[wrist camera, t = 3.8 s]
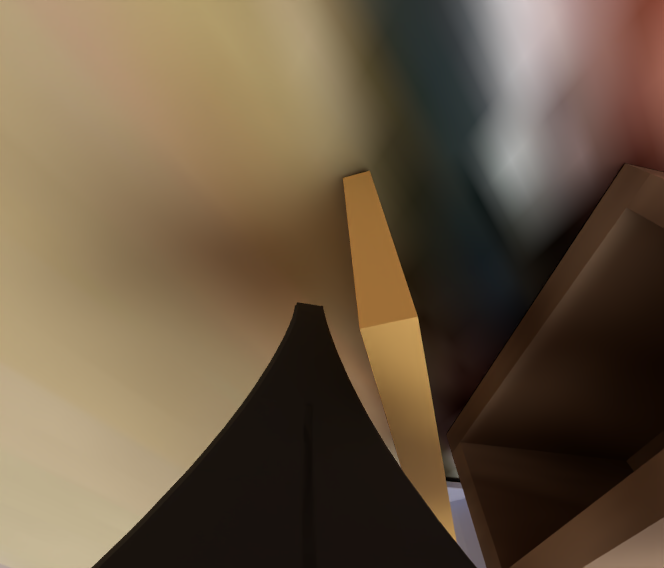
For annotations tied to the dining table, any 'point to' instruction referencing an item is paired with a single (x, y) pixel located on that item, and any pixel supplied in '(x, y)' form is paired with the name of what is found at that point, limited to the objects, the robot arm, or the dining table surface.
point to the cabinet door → (395, 345)
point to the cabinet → (578, 403)
